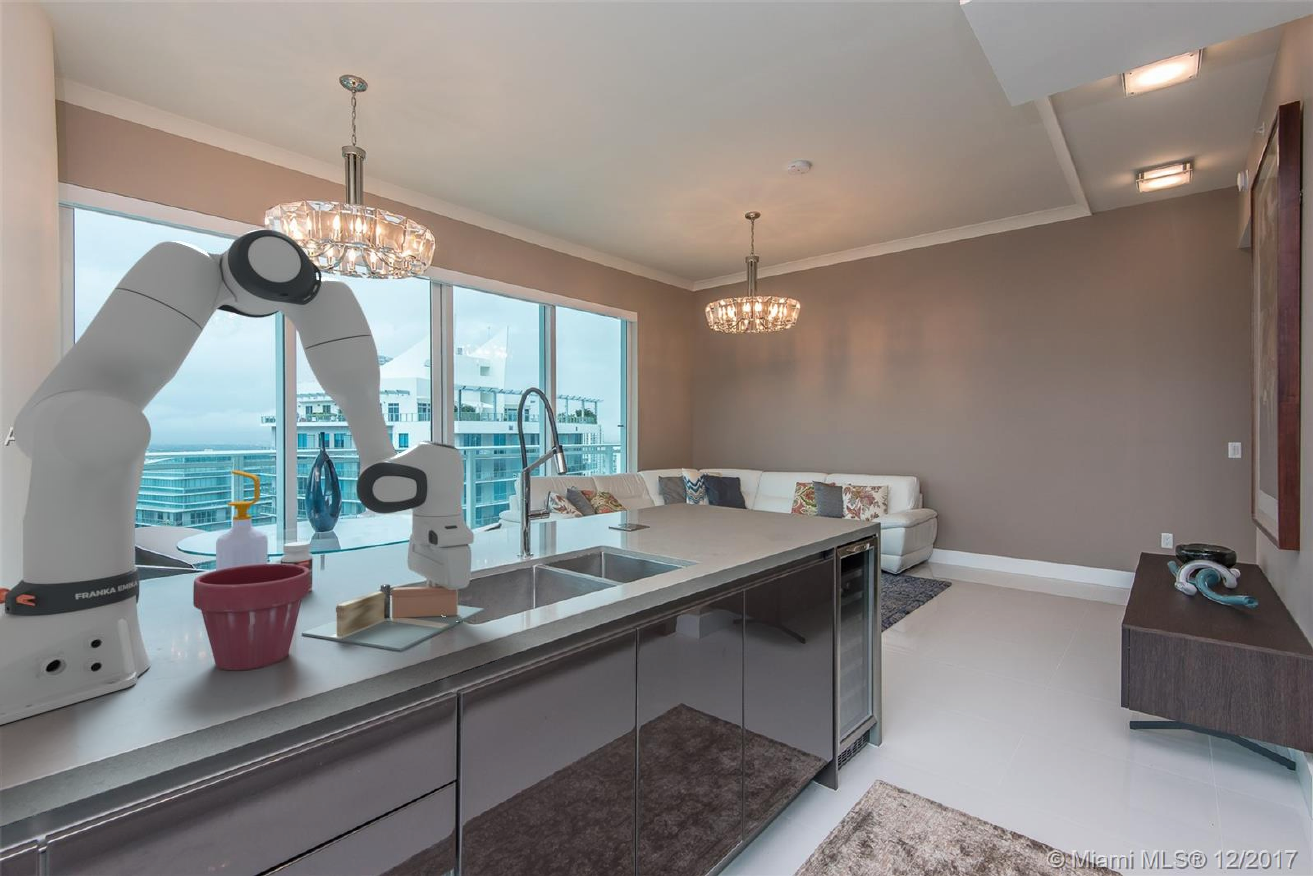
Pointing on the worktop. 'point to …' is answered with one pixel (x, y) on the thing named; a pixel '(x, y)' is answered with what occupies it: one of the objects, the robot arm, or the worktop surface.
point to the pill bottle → (298, 556)
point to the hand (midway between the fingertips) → (435, 603)
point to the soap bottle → (242, 536)
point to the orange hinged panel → (424, 601)
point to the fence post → (386, 600)
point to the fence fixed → (360, 613)
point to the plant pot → (251, 612)
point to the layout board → (395, 630)
